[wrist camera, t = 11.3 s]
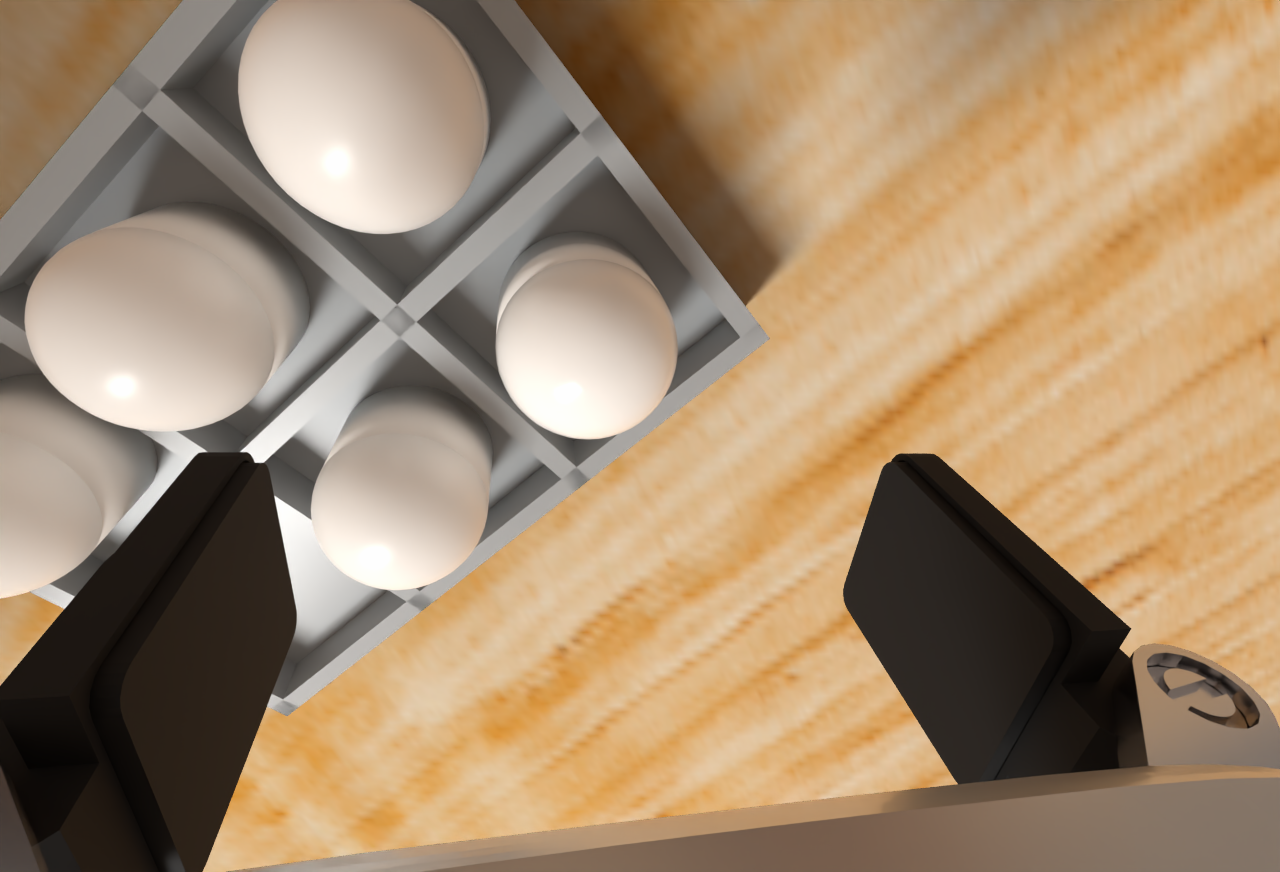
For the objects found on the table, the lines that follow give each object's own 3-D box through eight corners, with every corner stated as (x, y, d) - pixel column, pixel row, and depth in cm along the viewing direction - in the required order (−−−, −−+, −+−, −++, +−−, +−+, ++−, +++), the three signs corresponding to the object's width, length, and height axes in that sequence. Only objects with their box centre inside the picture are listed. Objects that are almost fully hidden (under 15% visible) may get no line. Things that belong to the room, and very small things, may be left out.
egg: (573, 410, 20) (590, 506, 15) (463, 308, 18) (447, 386, 13) (685, 315, 19) (735, 389, 14) (583, 195, 17) (606, 241, 12)
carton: (308, 658, 24) (249, 818, 19) (-124, 426, 18) (-388, 573, 13) (743, 309, 20) (818, 393, 15) (383, -166, 14) (296, -308, 8)
